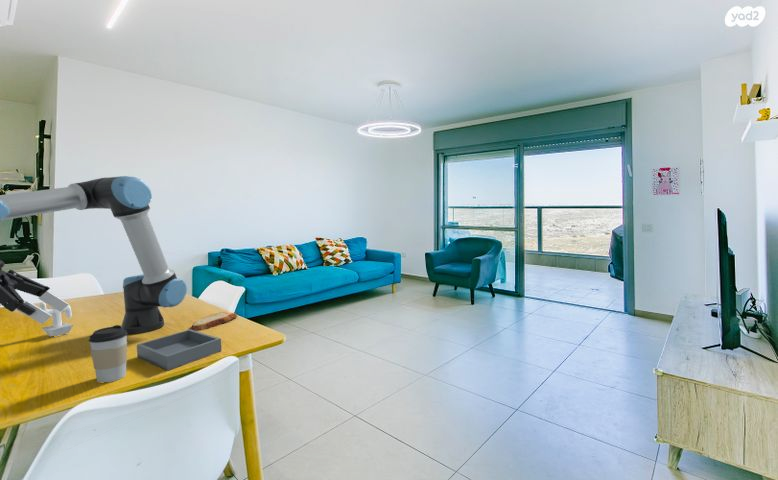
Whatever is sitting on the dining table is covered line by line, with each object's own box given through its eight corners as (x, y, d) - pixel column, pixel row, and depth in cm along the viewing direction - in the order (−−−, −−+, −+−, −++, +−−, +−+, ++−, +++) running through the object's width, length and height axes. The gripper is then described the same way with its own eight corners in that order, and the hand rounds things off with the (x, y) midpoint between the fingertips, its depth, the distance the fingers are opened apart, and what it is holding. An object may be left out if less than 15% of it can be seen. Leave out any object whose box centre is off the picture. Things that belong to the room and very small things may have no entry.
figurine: (77, 332, 146) (74, 297, 145) (48, 340, 138) (44, 302, 136) (68, 330, 149) (65, 295, 148) (38, 337, 141) (35, 300, 139)
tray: (137, 357, 120) (136, 344, 120) (190, 340, 135) (189, 329, 135) (167, 370, 110) (166, 356, 109) (221, 350, 125) (220, 338, 124)
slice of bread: (190, 332, 145) (189, 323, 145) (195, 320, 162) (194, 312, 162) (237, 326, 152) (237, 318, 152) (237, 315, 169) (237, 308, 169)
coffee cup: (109, 386, 100) (105, 334, 99) (83, 383, 102) (79, 333, 101) (137, 371, 109) (134, 324, 108) (113, 369, 111) (110, 323, 110)
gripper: (-13, 269, 100) (60, 313, 108) (-73, 283, 78) (24, 338, 86) (11, 249, 102) (81, 294, 110) (-41, 258, 80) (52, 313, 88)
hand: (56, 313), depth 98 cm, fingers open, 13 cm apart
